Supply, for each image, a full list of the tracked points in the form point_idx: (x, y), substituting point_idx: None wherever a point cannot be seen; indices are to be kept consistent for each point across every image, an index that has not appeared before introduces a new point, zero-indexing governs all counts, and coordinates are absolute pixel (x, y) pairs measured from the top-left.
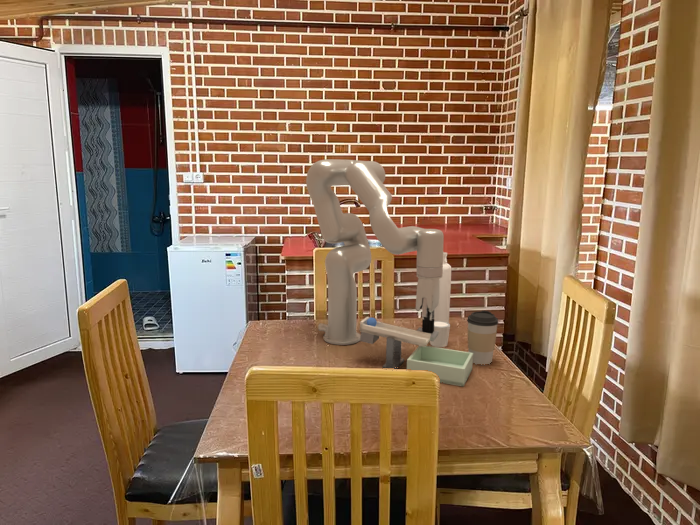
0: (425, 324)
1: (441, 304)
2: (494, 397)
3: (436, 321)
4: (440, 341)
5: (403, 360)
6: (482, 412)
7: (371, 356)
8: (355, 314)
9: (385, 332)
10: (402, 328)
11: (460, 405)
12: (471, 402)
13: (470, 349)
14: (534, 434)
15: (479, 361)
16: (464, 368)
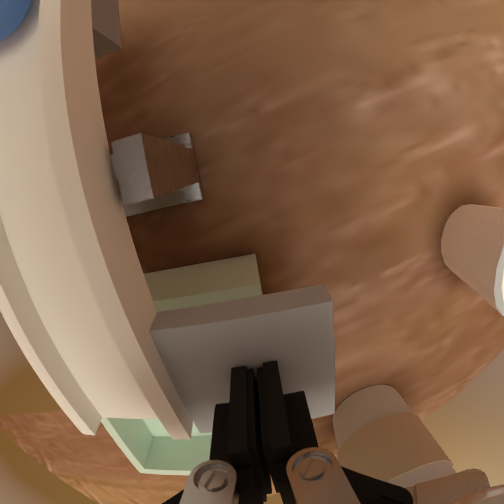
0: (214, 444)
1: None
2: (156, 475)
3: None
4: (456, 267)
5: (191, 200)
6: (87, 460)
7: (167, 46)
8: None
9: None
10: (77, 251)
11: (73, 434)
12: (100, 449)
13: (353, 433)
14: (100, 497)
15: (334, 431)
16: (145, 472)
